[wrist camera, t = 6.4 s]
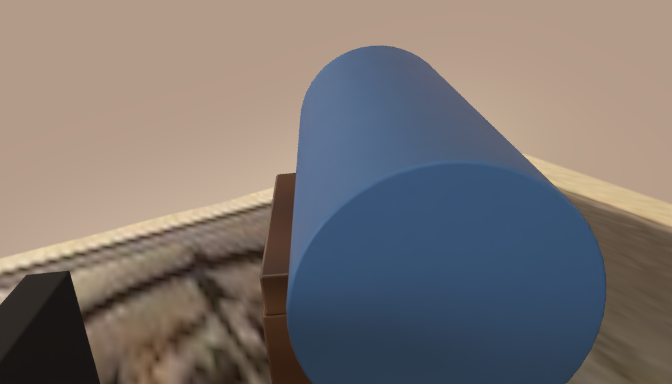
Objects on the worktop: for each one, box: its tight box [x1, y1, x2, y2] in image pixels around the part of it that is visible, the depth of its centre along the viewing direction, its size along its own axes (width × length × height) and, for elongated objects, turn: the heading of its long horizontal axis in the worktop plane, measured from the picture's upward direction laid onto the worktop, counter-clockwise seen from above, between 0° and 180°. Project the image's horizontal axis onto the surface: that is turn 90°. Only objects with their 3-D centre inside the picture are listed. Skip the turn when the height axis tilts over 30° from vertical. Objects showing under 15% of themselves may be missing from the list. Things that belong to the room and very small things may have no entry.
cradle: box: [260, 173, 312, 384], centre depth 21 cm, size 8×8×6 cm
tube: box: [286, 46, 606, 384], centre depth 17 cm, size 13×6×6 cm, turn 2°
